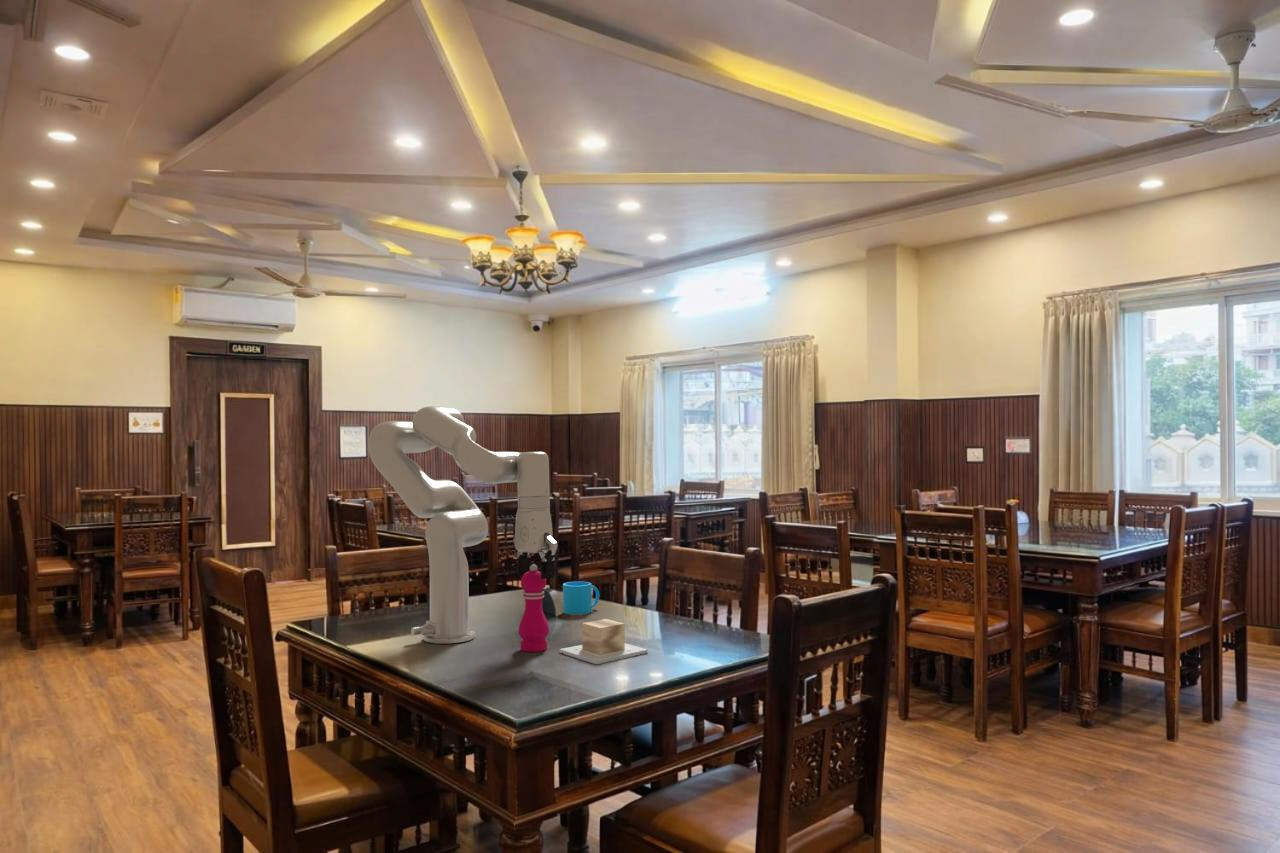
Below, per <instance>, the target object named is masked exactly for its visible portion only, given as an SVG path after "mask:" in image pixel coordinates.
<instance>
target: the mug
mask: <svg viewBox="0 0 1280 853" xmlns="http://www.w3.org/2000/svg"><path fill="white" fill-rule="evenodd" d="M592 589H593V590H594V592H595V599H594V600H592ZM600 596H601V595H600V591H599V589H598V588H597V587H596V586H595V585H592V583H591V582H589V581H567V582H564V583H563V584H562V613H563V612H564V613H567V614H586V615H588V614H587V613H590V612H591V611H592V610H593V608H594V607H595V606H596V605H597V604H598V602H599V601H600ZM564 613H563V614H564ZM591 613H592V612H591ZM591 613H590V614H591ZM567 614H566V615H567Z"/></svg>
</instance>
